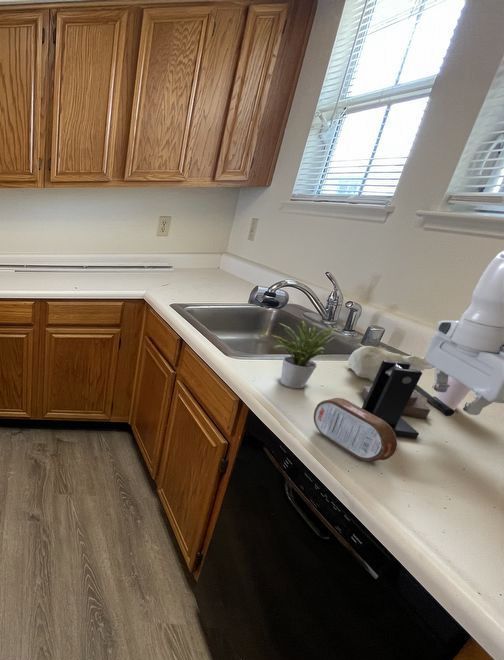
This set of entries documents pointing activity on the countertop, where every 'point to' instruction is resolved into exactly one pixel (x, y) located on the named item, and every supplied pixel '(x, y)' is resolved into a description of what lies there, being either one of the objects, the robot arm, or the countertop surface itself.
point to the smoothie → (453, 393)
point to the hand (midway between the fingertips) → (453, 401)
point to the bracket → (393, 396)
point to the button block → (408, 404)
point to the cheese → (371, 359)
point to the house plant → (301, 356)
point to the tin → (355, 429)
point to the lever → (429, 397)
